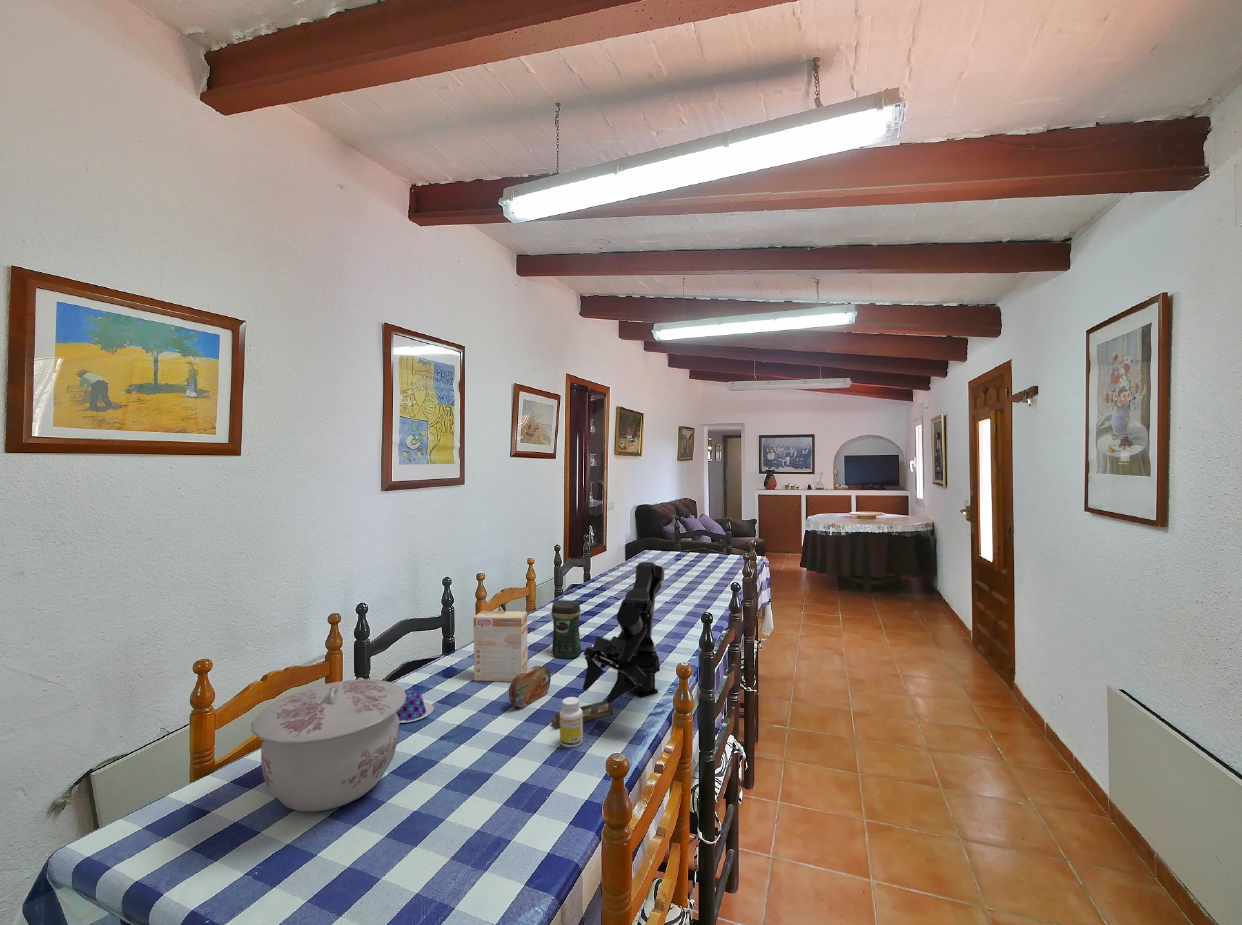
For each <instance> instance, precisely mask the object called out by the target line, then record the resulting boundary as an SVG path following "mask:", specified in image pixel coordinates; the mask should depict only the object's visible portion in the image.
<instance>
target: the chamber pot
mask: <svg viewBox="0 0 1242 925" xmlns="http://www.w3.org/2000/svg"><path fill="white" fill-rule="evenodd" d="M405 692H406V691H405V689H404V688H403V687H402V686H400V685H398V684H396V683H394V682H393V681H392V682H391V681H387V680H381V679H365V678H363V677H358V678H357V679H353V680H351V679H349V680H340V681H335V682H330V683H325V684H320V685H316V686H311V687H309V688H306V689H303V690H300V691H299V690H298V691H297V692H294V693H291V694H289V695H287V696H285V697H283V698H280V699H278V700H276V701H274V702H272V703H271V704H270V705H268V706H266V707H265V708H263V709H262V710H261V711H260V712H259V713H258V714H257V716H256V717H255V718H254V719H253V720H252V721H251V726H250V727H251V729H250V730H251V731H250V732H251V733H252V734H253V735H254V736H256V737H257V738H258V739H259V740H261V741H262V743H261V745H260V762H261V763H260V766H261V767H260V768H261V771H262V776H263V780H264V782H265V787H266V788H268V790H269V791H270V792H271V793H272V794H273V795H274V797H276V799H278V801H280V802H281V803H282V804H283V806H285V807H286V808H288V809H290V810H293V811H298V812H300V813H301V812H302V813H316V812H322V811H329V810H333V809H336V808H338V807H342V806H344V805H345V806H346V805H348V804H349V803H352V802H353V801H355V800H358V799H360V798H361V797H363V796H364V795H366V794H367V793H368V792H370V791H371V790H372V789H373V788H374V787H375V786H376V785H377V784H378V782H380V780H381V779H382V778H383V776H384V774H385V773H386V771H387V770H388V767H389V766H390V764H391V762H392V761H393V759H394V756H395V753H396V752H395V751H396V748H397V743H398V739H399V733H400V723H399V717H398V715H397V713H396V712H397V711H398V710H399V709H400V708H401V707H402V706H403V705H404V704H405V700H406V696H407V695H406V693H405Z"/></svg>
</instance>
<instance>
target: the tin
mask: <svg viewBox="0 0 1242 925" xmlns="http://www.w3.org/2000/svg"><path fill="white" fill-rule="evenodd" d="M551 681H552V680H551V672H550V670H549V668H548V667H547V666H544V665H542V666H541V665H535V666H533V667H531V668H528V670H527V671H525V672H523V673H521V674H519V675H517V676H516V677H515V678H514V679H513V680H512V682H510V684H509V687H508V698H509V702H510V704H511V705H512V706H514V707H517V708H519V709H524V708H526V707H528V706H529V705H531V704H532V703H534V702H537V701H538V700H540V699H541V698H543V697H544V696H545V695H546V694H547V693H548V691H549V689H550V685H551Z"/></svg>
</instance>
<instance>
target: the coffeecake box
mask: <svg viewBox="0 0 1242 925" xmlns="http://www.w3.org/2000/svg"><path fill="white" fill-rule="evenodd" d="M527 670H529V668H528V611H511V610H509V611H507V610H506V611H505V610H481V611H479V612H478V613H477V614H476V615H474V616H473V681H475V682H476V681H478V682H479V681H480V682H481V681H483V682H484V681H485V682H487V681H488V682H510V683H511V682H512V680H513V679H514V678H515V677H516V676H517V675H519V674H521V673H523V672H525V671H527Z"/></svg>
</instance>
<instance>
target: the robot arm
mask: <svg viewBox="0 0 1242 925" xmlns="http://www.w3.org/2000/svg"><path fill="white" fill-rule="evenodd" d="M664 580H665V569H664V568H663V566H660V565H658V564H656V563H653V562H649V561H648V562H647V561H646V562H645V561H642V562H638V563H637V565H636V566H635V581H634V584H633V587H632V589H631V590H629V591H627V592H626V594H625V597H624V599H622V602H621V604H620V606H619V609H618V611H617V612H616V620H617V623H618V625H619V627H620V629H621V631H620V632H619V634H618V635H617V636H615V635H614V636H612V638H611V639H608V638H605V637H601V636H598V635H596V637H595V639H594V643H593V646H587V647H586V648H585V650H584V651H583V653H582V655H583V656H584V660H585V661H586V665H587V667H586V668H587V670H586V674H585V678H584V682H583V685H582V690H583V692H587V691H588V690H589V689H590V688H591V687H592V686H593V685H594V683H596V681H597V680H598V679H599V678H600V677H601V675H602V674H603V673H604V671H605V670H604V669H605V668H606V667H609V668H611V669H614V670H615V671H617V673H616V674H617V676H616V681H615V683H614V685H613V687H612V689H611V690H610V692H609V694H608V696H607V698H606V700H607V702H608V703H611V702H613V703H614V701H615V700H617V699H618V698H620V697H621V696H622V695H624V694H625V693H627V692H631V693H632V694H634V695H635V696H637V697H638V698H642V697H646V696H650V695H651V696H652V695H654V694H658V692H659V690H658V689H657V688H656V674H657V673H658V672H660V671H661V665H660V664H661V663H660V657H659V656H658V652H657V651H656V647H655V642H654V641H653V639H652V634H653V632H652V631H653V623H654V613H655V604H656V603H655V601H656V595H657V594H658V592H659V591H660V590H661V589H662V583H663V582H664Z"/></svg>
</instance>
